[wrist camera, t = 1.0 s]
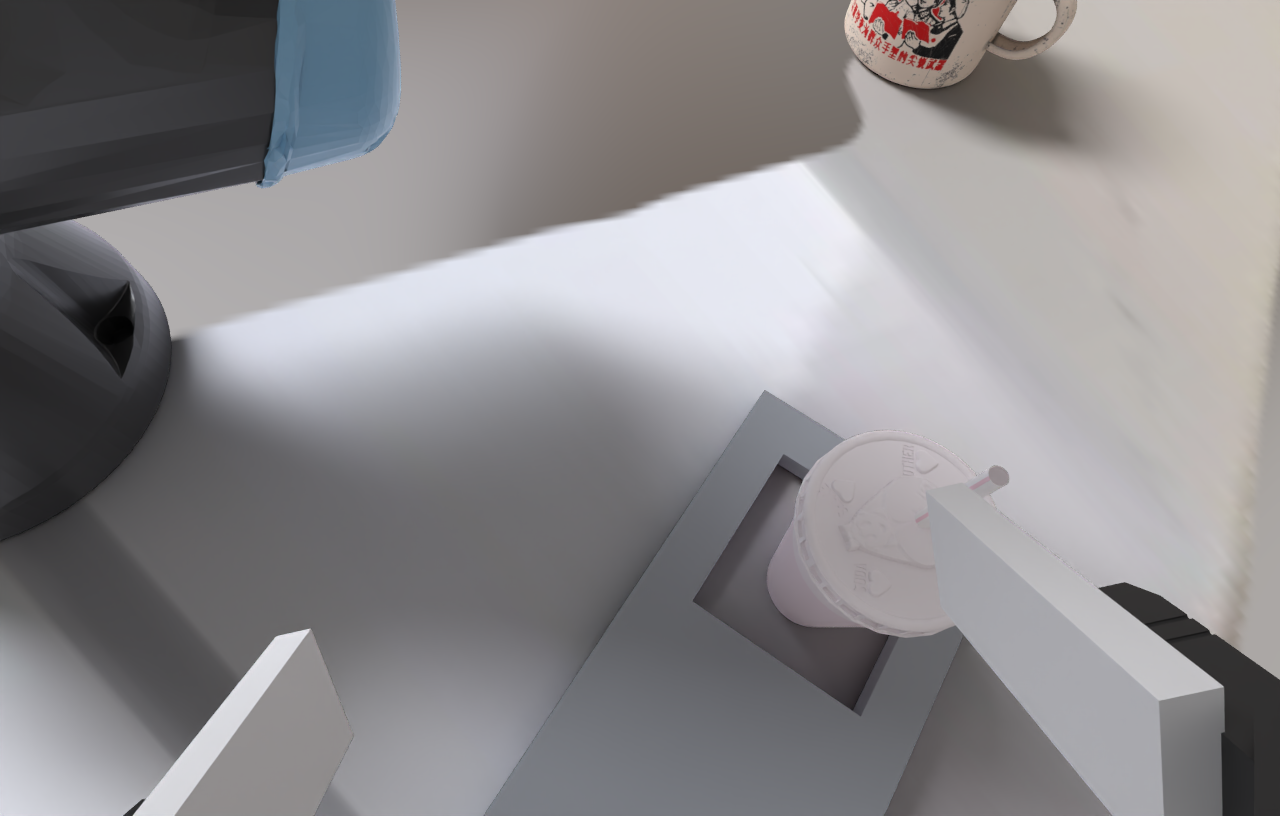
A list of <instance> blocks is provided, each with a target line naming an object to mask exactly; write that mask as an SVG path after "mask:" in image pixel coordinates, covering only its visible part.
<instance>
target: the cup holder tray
mask: <svg viewBox="0 0 1280 816" xmlns="http://www.w3.org/2000/svg"><path fill="white" fill-rule="evenodd" d="M843 441H845V439H843V438H841V437H840V436H838V435H837V434H835V433H833V432H832V431H830V430H828V429H827V428H825V427H824V426H822V425H820V424H819V423H817V422H816V421H814V420H812V419H811V418H809V417H808V416H806V415H804V414H803V413H801V412H799V411H798V410H796V409H795V408H793V407H791V406H790V405H788V404H787V403H785V402H783V401H782V400H780V399H779V398H777V397H775V396H774V395H772V394H771V393H769V392H767V391H766V390H764V392H763V393H762V395H761V396H760V398H759V400H758V401H757V403H756V404H755V406H754V407H753V409H752V410H751V412H750V413H749V415H748V416H747V418H746V419H745V421H744V422H743V424H742V425H741V427H740V428H739V430H738V431H737V433H736V434H735V436H734V437H733V439H732V440H731V442H730V443H729V445H728V446H727V448H726V449H725V451H724V452H723V454H722V456H721V457H720V459H719V460H718V462H717V463H716V465H715V466H714V468H713V469H712V471H711V472H710V474H709V475H708V477H707V478H706V480H705V481H704V483H703V484H702V486H701V487H700V489H699V490H698V492H697V493H696V495H695V496H694V498H693V499H692V501H691V502H690V504H689V505H688V507H687V508H686V510H685V512H684V513H683V515H682V516H681V518H680V519H679V521H678V522H677V524H676V525H675V527H674V528H673V530H672V531H671V533H670V534H669V536H668V537H667V539H666V540H665V542H664V543H663V545H662V546H661V548H660V549H659V551H658V552H657V554H656V555H655V557H654V558H653V560H652V561H651V563H650V564H649V566H648V568H647V569H646V571H645V572H644V574H643V575H642V577H641V578H640V580H639V581H638V583H637V584H636V586H635V587H634V589H633V590H632V592H631V593H630V595H629V596H628V598H627V599H626V601H625V602H624V604H623V605H622V607H621V608H620V610H619V611H618V613H617V614H616V616H615V617H614V619H613V620H612V622H611V624H610V625H609V627H608V628H607V630H606V631H605V633H604V634H603V636H602V637H601V639H600V640H599V642H598V643H597V645H596V646H595V648H594V649H593V651H592V652H591V654H590V655H589V657H588V658H587V660H586V661H585V663H584V664H583V666H582V667H581V669H580V670H579V672H578V673H577V675H576V676H575V678H574V680H573V681H572V683H571V684H570V686H569V687H568V689H567V690H566V692H565V693H564V695H563V696H562V698H561V699H560V701H559V702H558V704H557V705H556V707H555V708H554V710H553V711H552V713H551V714H550V716H549V717H548V719H547V720H546V722H545V723H544V725H543V726H542V728H541V729H540V731H539V732H538V734H537V736H536V737H535V739H534V740H533V742H532V743H531V745H530V746H529V748H528V749H527V751H526V752H525V754H524V755H523V757H522V758H521V760H520V761H519V763H518V764H517V766H516V767H515V769H514V770H513V772H512V773H511V775H510V776H509V778H508V779H507V781H506V782H505V784H504V785H503V787H502V788H501V790H500V792H499V793H498V795H497V796H496V798H495V799H494V801H493V802H492V804H491V805H490V807H489V808H488V810H487V811H486V813H485V814H484V816H884V815H885V813H886V810H887V808H888V806H889V804H890V801H891V799H892V797H893V795H894V792H895V790H896V788H897V786H898V783H899V781H900V779H901V776H902V774H903V772H904V770H905V767H906V765H907V763H908V761H909V758H910V756H911V754H912V751H913V749H914V747H915V745H916V742H917V740H918V738H919V736H920V733H921V731H922V729H923V727H924V724H925V722H926V720H927V717H928V715H929V713H930V711H931V708H932V706H933V704H934V702H935V699H936V697H937V695H938V692H939V690H940V688H941V686H942V683H943V681H944V679H945V677H946V674H947V672H948V670H949V668H950V665H951V663H952V661H953V658H954V656H955V654H956V652H957V649H958V647H959V645H960V643H961V640H962V638H963V636H964V635H963V633H962V632H961V631H960V630H959V629H958V627H957V626H956V625H955V626H953V627H950V628H947V629H945V630H943V631H940V632H938V633H936V634H934V635H928V636H919V637H909V638H903V637H898V636H892V635H889V637H888V639H887V641H886V643H885V645H884V647H883V650H882V652H881V654H880V656H879V658H878V660H877V662H876V664H875V666H874V668H873V670H872V672H871V674H870V676H869V678H868V680H867V682H866V684H865V687H864V689H863V691H862V693H861V695H860V697H859V699H858V701H857V703H856V705H855V707H854V709H853V711H852V710H850V709H849V708H848V707H846V706H845V705H843V704H842V703H840V702H839V701H837V700H836V699H834V698H833V697H832V696H830V695H829V694H827V693H826V692H824V691H823V690H821V689H820V688H818V687H817V686H815V685H814V684H813V683H811V682H810V681H808V680H807V679H805V678H804V677H802V676H801V675H799V674H798V673H797V672H795V671H794V670H792V669H791V668H789V667H788V666H786V665H785V664H783V663H782V662H780V661H779V660H778V659H776V658H775V657H773V656H772V655H770V654H769V653H767V652H766V651H764V650H763V649H762V648H760V647H759V646H757V645H756V644H754V643H753V642H751V641H750V640H748V639H747V638H745V637H744V636H743V635H741V634H740V633H738V632H737V631H735V630H734V629H732V628H731V627H729V626H728V625H727V624H725V623H724V622H722V621H721V620H719V619H718V618H716V617H715V616H713V615H712V614H710V613H709V612H708V611H706V610H705V609H703V608H702V607H700V606H699V605H697V604H696V603H694V602H693V599H694V598H695V596H696V595H697V593H698V591H699V590H700V588H701V586H702V585H703V583H704V582H705V580H706V578H707V577H708V575H709V574H710V572H711V570H712V569H713V567H714V565H715V564H716V562H717V561H718V559H719V557H720V556H721V554H722V553H723V551H724V549H725V548H726V546H727V544H728V543H729V541H730V540H731V538H732V536H733V535H734V533H735V532H736V530H737V528H738V527H739V525H740V523H741V522H742V520H743V519H744V517H745V515H746V514H747V512H748V511H749V509H750V507H751V506H752V504H753V502H754V501H755V499H756V498H757V496H758V494H759V493H760V491H761V490H762V488H763V486H764V485H765V483H766V481H767V480H768V478H769V477H770V475H771V473H772V472H773V470H774V469H775V467H776V465H777V464H779V465H780V466H782V467H783V468H785V469H787V470H788V471H790V472H791V473H793V474H794V475H796V476H798V477H799V478H801V479H802V480H803V479H804V478H805V476H806V475H807V474H808V472H809V471H810V470H811V468H812V467H813V466H814V464H815V463H816V462H817V460H819V459H820V458H821V457H823V456H824V455H825V454H827V453H828V452H829V451H831V450H832V449H833V448H834V447H835V446H837V445H838V444H840V443H841V442H843Z"/></svg>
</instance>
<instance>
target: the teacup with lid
mask: <svg viewBox="0 0 1280 816" xmlns="http://www.w3.org/2000/svg"><path fill="white" fill-rule="evenodd" d="M1016 2H1017V0H851V3H850V5H849V8H848V10H847V13H846V17H845V34H846V38H847V40H848V43H849V45H850V47H851V49H852V50H853V52H854V53H855V55H856V56H857V57H858V58H859V60H860V61H861V62H862V63H863V64H864V65H866V66H867V67H868V68H869V69H871V70H872V71H873V72H875V73H876V74H878V75H880V76H882V77H883V78H885V79H888V80H890V81H892V82H895V83H898V84H901V85H904V86H908V87H914V88H923V89H933V88H941V87H946V86H950V85H953V84H955V83H957V82H959V81H961V80H963V79H964V78H966V77H967V76H968V75H970V74H971V73H972V71H973V70H974V69H975V68H976V66H977V65H978V63H979V62H980V60H981V58H982V57H983V55H984V53H985V52H986V50H987V51H989V52H991V53H993V54H995V55H997V56H999V57H1002V58H1006V59H1010V60H1021V59H1026V58H1030V57H1033V56H1035V55H1038V54H1040V53H1042V52H1043V51H1045V50H1046V49H1048V48H1049V47H1051V46H1052V45H1053V44H1054V43H1055V42H1056V41H1058V40H1059V39H1060V38H1061V36H1062V35H1063V34H1064V33H1065V32H1066V31H1067V29H1068V28H1069V26H1070V25H1071V23H1072V21H1073V19H1074V17H1075V13H1076V9H1077V0H1054V3H1055V5H1056V10H1057V17H1056V21H1055V23H1054V25H1053V27H1052V29H1051V30H1050V31H1049V32H1048V33H1047V34H1045V35H1043V36H1042V37H1040V38H1037V39H1035V40H1031V41H1024V42H1023V41H1016V40H1013V39H1010V38H1008V37H1006V36H1004V35H1002V34H1000V33H999V32H998V31H999V29H1000V28H1001V26H1002V24H1003V23H1004V21H1005V19H1006V18H1007V16H1008V15H1009V13H1010V11H1011V10H1012V8H1013V7H1014V5H1015V3H1016Z"/></svg>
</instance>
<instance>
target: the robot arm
mask: <svg viewBox="0 0 1280 816" xmlns="http://www.w3.org/2000/svg"><path fill="white" fill-rule="evenodd" d="M400 95H401V64H400V48H399V33H398V23H397V13H396V4H395V0H0V540H3V539H6V538H9V537H11V536H13V535H16V534H18V533H21V532H23V531H25V530H28V529H30V528H32V527H34V526H36V525H38V524H40V523H42V522H44V521H46V520H47V519H49V518H51V517H53V516H55V515H56V514H58V513H60V512H61V511H63V510H64V509H66V508H68V507H69V506H71V505H72V504H73V503H75V502H76V501H78V500H79V499H81V498H82V497H83V496H85V495H86V494H87V493H88V492H90V491H91V490H92V489H93V488H95V487H96V486H97V485H98V484H99V483H100V482H101V481H103V480H104V479H105V478H106V477H107V476H108V475H109V474H110V473H111V472H112V471H113V470H114V469H115V468H116V467H117V466H118V465H119V464H120V463H121V462H122V461H123V459H124V458H125V457H126V456H127V455H128V454H129V452H130V451H131V450H132V449H133V447H134V446H135V445H136V444H137V442H138V441H139V439H140V438H141V436H142V435H143V433H144V432H145V430H146V429H147V427H148V425H149V423H150V422H151V420H152V418H153V416H154V414H155V412H156V410H157V408H158V406H159V403H160V401H161V398H162V396H163V393H164V390H165V387H166V383H167V379H168V374H169V369H170V362H171V337H170V330H169V325H168V321H167V317H166V315H165V312H164V309H163V307H162V304H161V302H160V300H159V298H158V297H157V295H156V293H155V292H154V291H153V289H152V287H151V286H150V285H149V284H148V282H147V281H146V280H145V279H144V278H143V277H142V275H141V274H139V272H138V271H137V270H136V269H135V268H134V267H133V266H132V265H131V264H130V263H129V262H128V261H127V260H126V259H125V258H124V257H123V256H122V254H121V253H120V252H119V251H118V250H116V249H115V248H114V247H113V246H112V245H111V244H109V243H108V242H107V241H106V240H104V239H103V238H102V237H100V236H99V235H98V234H96V233H95V232H93V231H91V230H90V229H88V228H87V227H85V226H83V225H81V224H79V223H77V222H75V221H73V220H72V219H77V218H81V217H86V216H91V215H96V214H101V213H106V212H111V211H115V210H120V209H125V208H130V207H134V206H139V205H144V204H149V203H154V202H159V201H164V200H168V199H173V198H178V197H183V196H188V195H193V194H197V193H202V192H207V191H211V190H217V189H221V188H226V187H231V186H236V185H240V184H246V183H250V182H255V183H256V185H257V186H258V187H260V188H266V187H271V186H273V185H275V184H277V183H278V182H279V181H280V180H281V179H282V178H283V176H286V175H290V174H294V173H298V172H301V171H306V170H310V169H313V168H317V167H321V166H325V165H329V164H333V163H337V162H341V161H345V160H349V159H353V158H357V157H359V156H363V155H365V154H366V153H368V152H370V151H372V150H374V149H375V148H376V147H378V146H379V145H380V144H381V142H382V141H383V140H384V138H385V137H386V136H387V134H388V133H389V132H390V130H391V129H392V127H393V125H394V122H395V118H396V116H397V114H398V110H399V105H400ZM926 499H927V507H928V514H929V522H930V529H931V537H932V544H933V552H934V559H935V567H936V574H937V582H938V590H939V597H940V605H941V608H942V609H943V610H944V612H945V613H946V614H947V615H948V616H949V618H950V619H951V620H952V621H953V622H954V624H955V625H956V626H957V627H958V629H959V630H960V631H961V632H962V633H963V635H964V636H965V637H966V638H967V639H968V641H969V642H970V643H971V644H972V646H973V647H974V648H975V649H976V650H977V652H978V653H979V654H980V655H981V656H982V658H983V659H984V660H985V661H986V663H987V664H988V665H989V666H990V667H991V669H992V670H993V671H994V672H995V673H996V675H997V676H998V677H999V678H1000V680H1001V681H1002V682H1003V683H1004V684H1005V686H1006V687H1007V688H1008V689H1009V690H1010V692H1011V693H1012V694H1013V695H1014V697H1015V698H1016V699H1017V700H1018V701H1019V703H1020V704H1021V705H1022V706H1023V707H1024V709H1025V710H1026V711H1027V712H1028V714H1029V715H1030V716H1031V717H1032V718H1033V720H1034V721H1035V722H1036V723H1037V725H1038V726H1039V727H1040V728H1041V729H1042V731H1043V732H1044V733H1045V734H1046V735H1047V737H1048V738H1049V739H1050V740H1051V742H1052V743H1053V744H1054V745H1055V746H1056V748H1057V749H1058V750H1059V751H1060V752H1061V754H1062V755H1063V756H1064V757H1065V759H1066V760H1067V761H1068V762H1069V763H1070V765H1071V766H1072V767H1073V768H1074V769H1075V771H1076V772H1077V773H1078V774H1079V776H1080V777H1081V778H1082V779H1083V780H1084V782H1085V783H1086V784H1087V785H1088V786H1089V788H1090V789H1091V790H1092V791H1093V793H1094V794H1095V795H1096V796H1097V797H1098V799H1099V800H1100V801H1101V802H1102V803H1103V805H1104V806H1105V807H1106V808H1107V810H1108V811H1109V812H1110V813H1111V814H1112V816H1280V680H1279V679H1278V678H1276V677H1275V676H1273V675H1272V674H1271V673H1269V672H1268V671H1266V670H1265V669H1263V668H1262V667H1261V666H1259V665H1258V664H1256V663H1255V662H1254V661H1252V660H1251V659H1249V658H1248V657H1246V656H1245V655H1244V654H1242V653H1241V652H1239V651H1238V650H1237V649H1235V648H1234V647H1232V646H1231V645H1229V644H1228V643H1227V642H1225V641H1224V640H1222V639H1221V638H1220V637H1218V636H1217V635H1215V634H1214V635H1211V633H1210V631H1209V630H1208V629H1207V628H1205V627H1204V626H1203V625H1201V624H1200V623H1198V622H1197V621H1195V620H1194V619H1193V618H1192V619H1189V618H1188V616H1187V614H1185V613H1184V612H1183V611H1181V610H1180V609H1178V608H1177V607H1176V606H1174V605H1173V604H1171V603H1170V602H1168V601H1167V600H1166V599H1164V598H1163V597H1161V596H1160V595H1157V594H1154V593H1152V592H1149V591H1146V590H1144V589H1141V588H1138V587H1136V586H1133V585H1131V584H1128V583H1125V582H1124V583H1119V584H1115V585H1110V586H1106V587H1101V588H1097V587H1096V586H1094V585H1093V584H1092V583H1090V582H1089V581H1088V580H1087V579H1085V578H1084V577H1083V576H1081V575H1080V574H1079V573H1078V572H1076V571H1075V570H1074V569H1072V568H1071V567H1070V566H1069V565H1067V564H1066V563H1065V562H1063V561H1062V560H1061V559H1060V558H1058V557H1057V556H1056V555H1055V554H1053V553H1052V552H1051V551H1049V550H1048V549H1047V548H1046V547H1044V546H1043V545H1042V544H1040V543H1039V542H1038V541H1037V540H1035V539H1034V538H1033V537H1031V536H1030V535H1029V534H1028V533H1026V532H1025V531H1024V530H1022V529H1021V528H1020V527H1019V526H1017V525H1016V524H1015V523H1014V522H1012V521H1011V520H1010V519H1008V518H1007V517H1006V516H1005V515H1003V514H1002V513H1001V512H999V511H998V510H997V509H996V508H994V507H993V506H992V505H990V504H989V503H988V502H987V501H985V500H984V499H983V498H981V497H980V496H979V495H978V494H976V493H975V492H974V491H973V490H971V489H970V488H969V487H967V486H966V485H965V484H964V483H957V484H953V485H948V486H944V487H939V488H935V489H931V490H926ZM353 737H354V735H353V732H352V730H351V727H350V725H349V722H348V720H347V717H346V715H345V712H344V710H343V707H342V705H341V702H340V700H339V697H338V695H337V692H336V690H335V687H334V685H333V682H332V680H331V677H330V675H329V672H328V670H327V667H326V665H325V662H324V660H323V657H322V654H321V652H320V649H319V647H318V644H317V642H316V639H315V637H314V634H313V632H312V629H311V628H310V629H306V630H302V631H297V632H293V633H288V634H284V635H279V636H276V637H275V638H274V640H273V641H272V642H271V643H270V645H269V646H268V647H267V648H266V650H265V651H264V652H263V653H262V655H261V656H260V657H259V658H258V660H257V661H256V662H255V663H254V665H253V666H252V667H251V668H250V670H249V671H248V672H247V673H246V675H245V676H244V677H243V678H242V680H241V681H240V682H239V683H238V685H237V686H236V687H235V688H234V690H233V691H232V692H231V693H230V695H229V696H228V697H227V698H226V700H225V701H224V702H223V703H222V705H221V706H220V707H219V708H218V710H217V711H216V712H215V713H214V715H213V716H212V717H211V718H210V720H209V721H208V722H207V723H206V725H205V726H204V727H203V728H202V730H201V731H200V732H199V733H198V735H197V736H196V737H195V738H194V740H193V741H192V742H191V743H190V745H189V746H188V747H187V748H186V750H185V751H184V752H183V753H182V755H181V756H180V757H179V758H178V760H177V761H176V762H175V763H174V765H173V766H172V767H171V768H170V770H169V771H168V772H167V773H166V775H165V776H164V777H163V778H162V780H161V781H160V782H159V783H158V785H157V786H156V787H155V788H154V790H153V791H152V792H151V793H150V795H149V796H148V797H147V798H146V799H142V800H141V801H140V802H139V803H137V804H136V805H135V806H134V807H133V808H132V809H130V810H129V811H128V812H127V813H126V814H125V815H123V816H314V815H315V813H316V811H317V809H318V807H319V805H320V803H321V801H322V799H323V797H324V795H325V793H326V791H327V789H328V787H329V785H330V783H331V781H332V779H333V777H334V775H335V773H336V771H337V769H338V767H339V765H340V763H341V761H342V759H343V757H344V755H345V753H346V751H347V749H348V747H349V745H350V743H351V741H352V739H353Z"/></svg>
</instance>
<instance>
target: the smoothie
mask: <svg viewBox="0 0 1280 816" xmlns="http://www.w3.org/2000/svg"><path fill="white" fill-rule="evenodd" d="M1008 482H1009V474H1008V472H1007V471H1006V470H1005V469H1004V468H1003V467H1001V466H992V467H990V468H989V469H987V470H986V471H984V472H982V473H981V474H979V475H976V474H975V473H974V471H973V470H972V469H971V468H970V467H969V466H968V465H967V464H966V463H965V462H964V461H963V460H961V459H960V458H959V457H958V456H957V455H955V454H954V453H953V452H951V451H950V450H948V449H947V448H945V447H943V446H942V445H940V444H938V443H936V442H934V441H932V440H930V439H927V438H925V437H922V436H919V435H916V434H913V433H908V432H903V431H896V430H877V431H871V432H866V433H862V434H858V435H856V436H853V437H851V438H849V439H847V440H845V441H843V442H841V443H840V444H838V445H837V446H835V447H834V448H833V449H832V450H831V451H829V452H828V453H827V454H825V455H824V456H823V457H821V458H820V459H819V460H817V462H816V463H815V464H814V466H813V467H812V468H811V470H810V471H809V472H808V474H807V475H806V476H805V478H804V479H803V482H802V484H801V487H800V490H799V493H798V495H797V498H796V501H795V512H794V519H793V520H792V522H791V524H790V526H789V528H788V530H787V531H786V533H785V535H784V537H783V539H782V541H781V542H780V544H779V546H778V548H777V550H776V552H775V553H774V555H773V557H772V559H771V561H770V563H769V566H768V570H767V587H768V591H769V594H770V597H771V599H772V601H773V603H774V605H775V606H776V608H777V609H778V610H779V611H780V612H781V613H782V614H783V615H784V616H785V617H786V618H788V619H789V620H791V621H792V622H794V623H796V624H799V625H802V626H806V627H866V628H868V629H870V630H872V631H875V632H877V633H881V634H886V635H892V636H898V637H903V638H909V637H919V636H928V635H934V634H936V633H938V632H940V631H943V630H945V629H947V628H950V627H953V626H955V624H954V622H953V621H952V620H951V619H950V618H949V616H948V615H947V614H946V613H945V612H944V610H943V609H942V608H941V605H940V597H939V590H938V582H937V574H936V567H935V559H934V552H933V544H932V537H931V529H930V522H929V514H928V507H927V499H926V490H931V489H935V488H939V487H944V486H948V485H953V484H957V483H964V484H965V485H966V486H967V487H969V488H970V489H971V490H973V491H974V492H975V493H976V494H978V495H979V496H980V497H981V498H983V499H984V500H985V501H987V502H988V503H989V504H990V505H992V506H993V507H994V508H996V506H995V504H994V502H993V500H992V498H991V495H990V494H991V493H993V492H995V491H996V490H998V489H1000V488H1002V487H1004V486H1005V485H1007V484H1008Z"/></svg>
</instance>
